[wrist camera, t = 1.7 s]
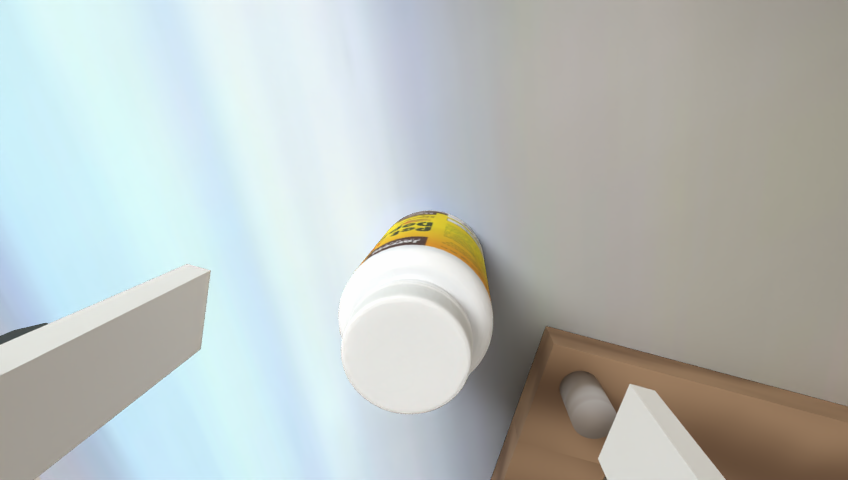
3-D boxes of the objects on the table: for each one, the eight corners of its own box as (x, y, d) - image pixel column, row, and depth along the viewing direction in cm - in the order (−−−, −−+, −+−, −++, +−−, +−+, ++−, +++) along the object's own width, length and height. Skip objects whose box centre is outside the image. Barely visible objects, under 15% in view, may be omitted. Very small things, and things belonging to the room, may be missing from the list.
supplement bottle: (441, 186, 21) (424, 230, 11) (503, 270, 22) (539, 381, 12) (359, 247, 22) (276, 336, 12) (420, 325, 23) (389, 467, 13)
